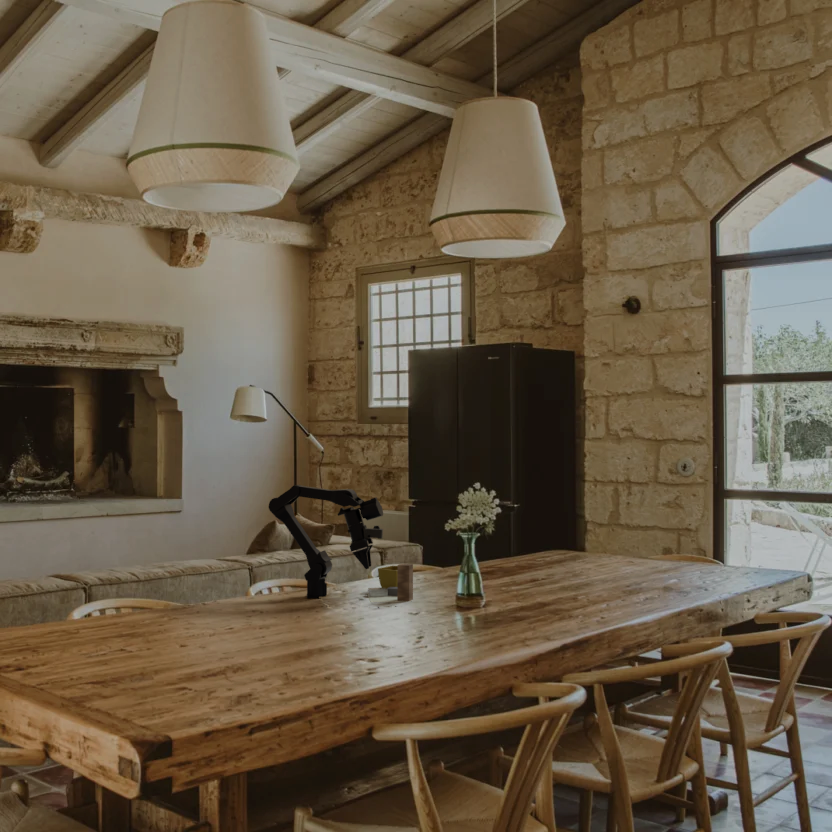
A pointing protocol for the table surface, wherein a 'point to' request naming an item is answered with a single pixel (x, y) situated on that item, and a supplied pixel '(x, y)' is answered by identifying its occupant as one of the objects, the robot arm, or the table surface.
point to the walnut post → (404, 582)
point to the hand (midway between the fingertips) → (368, 567)
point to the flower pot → (388, 576)
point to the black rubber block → (392, 591)
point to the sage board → (385, 599)
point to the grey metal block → (378, 592)
